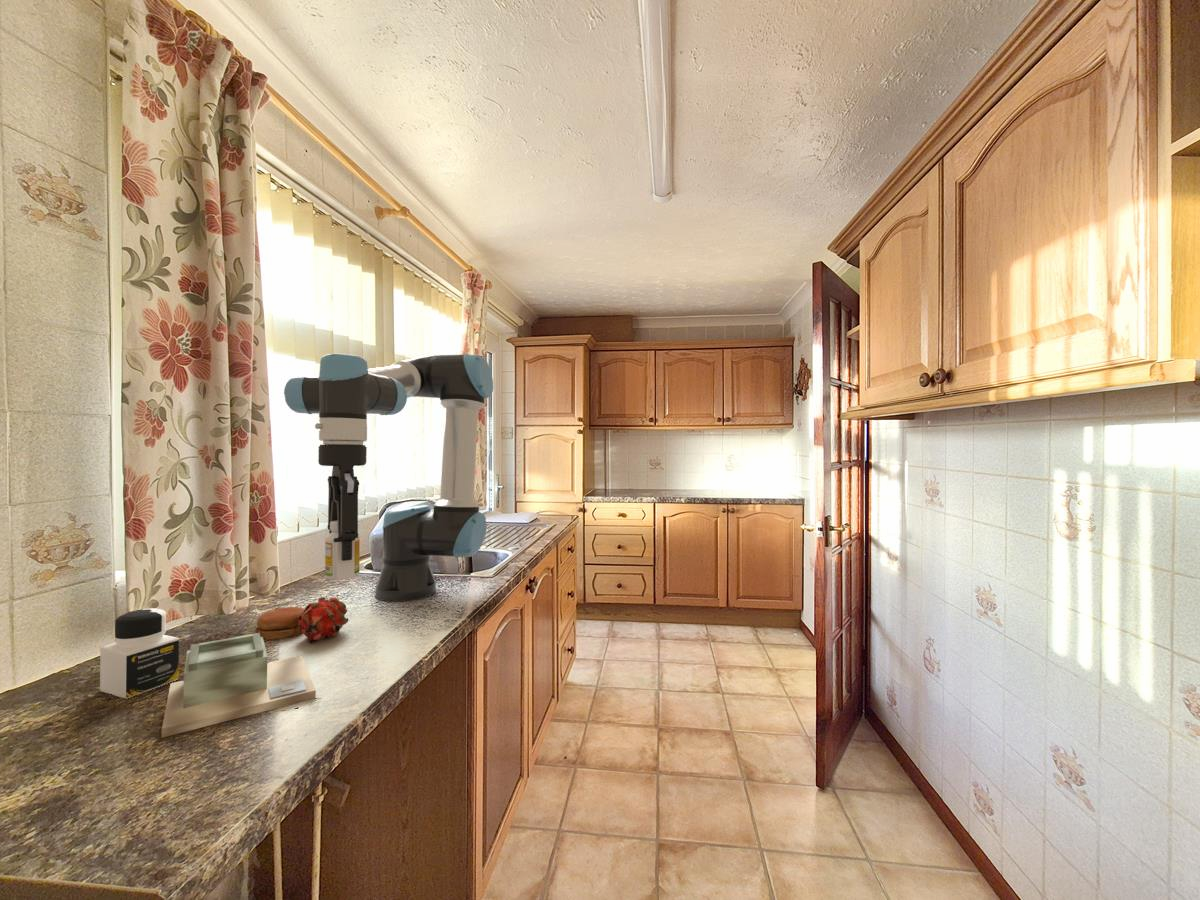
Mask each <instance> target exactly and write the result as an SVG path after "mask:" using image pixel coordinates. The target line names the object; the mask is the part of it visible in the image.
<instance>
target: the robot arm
mask: <svg viewBox="0 0 1200 900" xmlns="http://www.w3.org/2000/svg"><path fill="white" fill-rule="evenodd" d="M493 379H494V378H493V374H492V371H491V368H490V365H489V363H488V361H487V360H486V359H485V358H484V356H482V355H479V354H468V353H465V354H438V355H437V354H433V355H431V354H430V355H424V356H423V355H422V356H419V357H414V358H409V359H405V360H399V361H395V362H393V363H392V364H391V365H390V366H384V367H375V368H369V367H368V361H367V359H366V358H365V357H362V356H359V355H354V354H350V353H349V354H348V353H328V354H324V355H323V356H321V358H320V362H319V374H318V375H302V376H301V375H299V376H294V377H291V378H290V379H288V381H287V382H286V384H285V385H284V389H283V394H284V398H285V399H284V400H285V403H286V405H287V406H288V408H289V409H290V410H291V411H293V412H294V413H297V414H298V413H299V414H307V415H312V414H313V415H314V414H317V415H318V418H319V420H318V421H319V422H317V423H315V425H314V427H315V429H317V430H319V431H318V440H319V441H320V442H322V444H319V446H318V461H317V462H318V464H319V466H323V467H332V472H331V475H329V476H328V477H327V483H328V484H327V485H328V500H327V501H328V503H327V506H328V507H327V508H328V510H327V527H326V528H327V530H328V534H331V532H332V531H331V530H330V522H332V521H337V520H338V538H335V539H333V541H334V542H336V580H335V581H340V580H349V579H355V577H354V562H355V538H358V534H359V506H358V505H359V486H360V481H359V479H358V477H357V476H355V471H354V467H359V466H361V467H362V466H365V465H367V452H368V451H367V448H368V447H367V446H366V444H364V442H366V441H368V418H367V417H368V416H367V415H368V414H373V415H374V414H375V415H380V416H388V415H389V416H392V415H396V414H398V413H400V412H402V410H403V409H405V406H406V404H407V400H408V398H413V397H415V398H416V397H417V398H419V397H420V398H431V399H432V398H433V399H435V398H436V399H439V404H440V405H441V406H442V407H443V408H444V423H443V426H444V428H443V445H442V462H441V475H440V476H441V477H440V478H441V479H440V480H441V481H440V495H439V496H440V498H439V499H438V500H437V501H436V502H435V503H434V504H433V510H432V511H431V506H430V505H416V506H415V505H414V506H409V507H407V506H406V507H399V508H395V509H390V510H388V511H386V512H385V513H384V516H383V524H382V535H383V536H382V539H383V540H382V568H381V571H380V574H379V576H378V580H377V582H376V585H375V589H374V590H375V594H374V596H375V598H376V599H378V600H381V601H387V602H406V601H414V600H418V599H419V600H420V599H425V598H427V597H430V596H432V595H433V594H435V593H436V591H437V590H436V589H437V584H436V579H435V576H434V573H433V570H432V568H431V564H430V557H432V556H433V557H453V558H455V559H456V558H457V559H458V558H471V557H473V556H475V555H476V554H478V552H479V550H480V549H481V547H482V545H483V543H484V540H485V539H486V538H485V537H486V533H487V527H488V526H487V517H486V515H485V514H484V513H482V512H480V505H479V504H478V503H477V501H475V499H474V497H475V481H476V479H475V478H476V460H477V440H478V439H477V437H478V423H479V422H478V419H479V417H478V416H479V411H480V410H481V409H482V408H484V406H485V399H488V398H490V397H491V396H492V395H493V391H494V380H493Z"/></svg>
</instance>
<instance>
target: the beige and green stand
mask: <svg viewBox="0 0 1200 900" xmlns="http://www.w3.org/2000/svg"><path fill="white" fill-rule="evenodd" d="M184 664H185V665H184V671H183V680H180V681H174V682H172V683H169V684H170V685H169V690H168V696H167V701H166V706H165V710H164V716H163V721H162V726H161V739H163V738H166V737H167V738H168V737H171V736H174V735H178V734H181V733H182V734H183V733H186V732H190V731H193V730H197V729H201V728H204V727H209V726H213V725H216V724H217V725H218V724H220V723H221V724H222V723H225V722H228V721H231V720H235V719H239V718H243V717H248V716H252V715H255V714H259V713H264V712H267V711H271V710H274V709H275V710H276V709H279V708H282V707H283V708H284V707H286V706H290V705H294V704H298V703H301V702H302V703H303V702H306V701H308V700H313V699H316V698H317V690H316V689H317V688H315V684H314V682H313V679H312V677H311V675H310V671H309V670H308V667H307V665H306V662H305V660H304V657H303V656H302V655H298V656H294V657H289V658H284V659H280V660H274V661H269V662H268V652H267V650H266V645H265V641H264V638H263V637H260V633H252V634H244V635H240V636H234V637H229V638H223V639H218V640H217V639H216V640H210V641H205V642H200V643H194V644H191V645H190V650H187V651H186V657H185V663H184Z"/></svg>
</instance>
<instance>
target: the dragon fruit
mask: <svg viewBox="0 0 1200 900" xmlns="http://www.w3.org/2000/svg"><path fill="white" fill-rule="evenodd" d="M304 609H305V610H304V611H303V613H302V614H301V615H300V617H299V620H298V622H299V631H302V633H301V634H303V635H304V636H305V637H307V641H308V643H309V644H311V643H313V642H318V641H320V640H323V639H325V637H326V636H328V637H329V638H332V639H333V638H334V637H335V636H337V635H338V634H339V633H340V630H341V629H342V628H343V627H344V625H346V624H347V623H348V622H349V619H350V618H348V617H345V616H346V614H347V612H348V609H347V605H346V604H345V603H344V602H343V601H341V600H339V598H337V597H335V596H334V597H330V598H328V599H326V598H325V597H324V596H323V597H319V598H318V601H317V602H312V603H308V604H306V606H305V608H304Z"/></svg>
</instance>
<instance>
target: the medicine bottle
mask: <svg viewBox="0 0 1200 900" xmlns="http://www.w3.org/2000/svg"><path fill="white" fill-rule="evenodd" d="M166 625H167V612H166V611H165V610H163V609H161V608H155V607H154V608H153V607H152V608H142V609H136V610H133V611H132V610H131V611H128V612H125V613H124V614H122V615H120V616H118V617H117V618H116V619H115V621H114V642H113V643H110V644H107V645H106V644H105V645H103V646H102V647H100V649H99V650H100V653H99V654H100V656H99V657H100V661H99V662H100V663H99V665H100V666H99V673H100V674H99V676H100V677H99V691H100V692H102V693H106V694H108V695H111V694H112V696H115V697H118V698H122V699H124V698H125V700H128V698H129V699H131V697H132V698H134V697H133V696H135V695H137V696H139V695H138V694H140V695H142V694H144V693H143V692H145V693H147V692H146V691H148V692H150V691H153V690H156V689H158V688H161V687H163V685H164V686H166V685H169V684H171V683H170V682H172V683H174V682H177V681H178V680H179V678H180V677H179V675H180V671H179V670H180V664H179V663H180V660H179V659H180V638H179V637H176V636H171V635H167V634H166V631H167V628H166V627H167V626H166ZM176 680H177V681H176ZM173 681H174V682H173ZM168 683H169V684H168ZM165 684H166V685H165ZM160 686H161V687H160ZM157 687H158V688H157ZM155 688H156V689H155ZM152 689H153V690H152ZM149 690H150V691H149ZM141 693H142V694H141ZM135 697H136V696H135Z"/></svg>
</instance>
